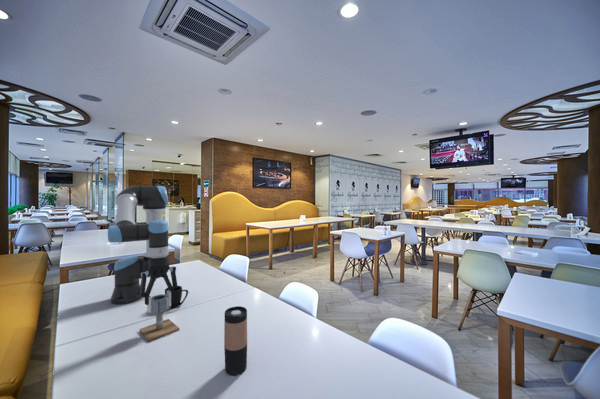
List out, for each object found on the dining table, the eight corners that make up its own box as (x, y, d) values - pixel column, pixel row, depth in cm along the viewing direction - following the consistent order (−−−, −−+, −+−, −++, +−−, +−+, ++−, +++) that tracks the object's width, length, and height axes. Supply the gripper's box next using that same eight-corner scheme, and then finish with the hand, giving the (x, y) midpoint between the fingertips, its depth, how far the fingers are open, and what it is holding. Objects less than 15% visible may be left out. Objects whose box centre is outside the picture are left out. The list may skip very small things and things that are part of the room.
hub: (147, 309, 109) (147, 297, 109) (165, 303, 114) (164, 292, 114) (153, 314, 104) (153, 302, 104) (171, 308, 109) (171, 297, 109)
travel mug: (226, 361, 89) (226, 306, 89) (248, 360, 90) (248, 305, 90) (222, 377, 82) (221, 317, 81) (245, 375, 82) (245, 316, 82)
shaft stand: (139, 331, 109) (139, 310, 109) (168, 320, 118) (168, 302, 118) (148, 342, 101) (148, 320, 101) (179, 330, 110) (179, 310, 110)
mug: (183, 310, 128) (182, 292, 128) (161, 309, 130) (161, 291, 130) (191, 303, 137) (191, 286, 136) (171, 302, 138) (171, 285, 138)
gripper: (134, 262, 99) (135, 319, 99) (185, 253, 114) (186, 303, 114) (129, 259, 104) (129, 313, 104) (179, 251, 119) (179, 298, 119)
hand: (159, 308), depth 109 cm, fingers closed on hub, 7 cm apart
